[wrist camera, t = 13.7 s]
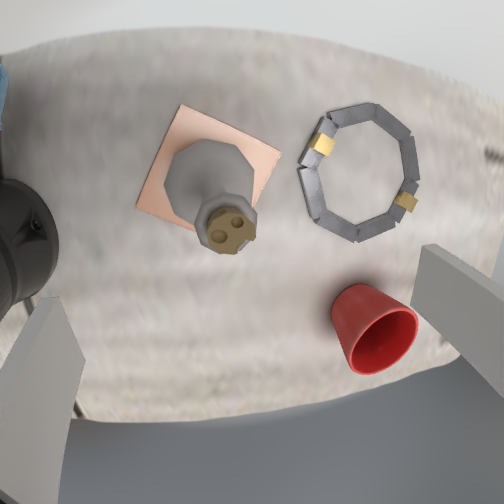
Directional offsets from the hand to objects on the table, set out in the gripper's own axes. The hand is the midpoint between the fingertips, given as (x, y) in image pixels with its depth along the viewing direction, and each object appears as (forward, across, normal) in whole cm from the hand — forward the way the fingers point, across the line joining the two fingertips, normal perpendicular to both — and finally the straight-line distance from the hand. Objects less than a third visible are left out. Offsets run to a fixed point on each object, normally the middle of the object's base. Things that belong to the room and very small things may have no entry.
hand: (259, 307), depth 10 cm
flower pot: (+26, +20, -21) cm, 38 cm away
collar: (+25, +20, -1) cm, 32 cm away
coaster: (+26, 0, 0) cm, 26 cm away
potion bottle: (+25, 0, 0) cm, 25 cm away
